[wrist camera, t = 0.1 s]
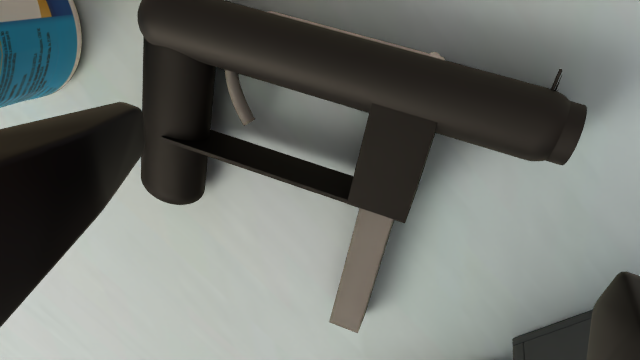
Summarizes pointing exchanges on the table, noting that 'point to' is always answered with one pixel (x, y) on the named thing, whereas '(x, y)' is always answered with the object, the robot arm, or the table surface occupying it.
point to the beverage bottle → (37, 47)
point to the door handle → (336, 86)
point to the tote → (556, 341)
